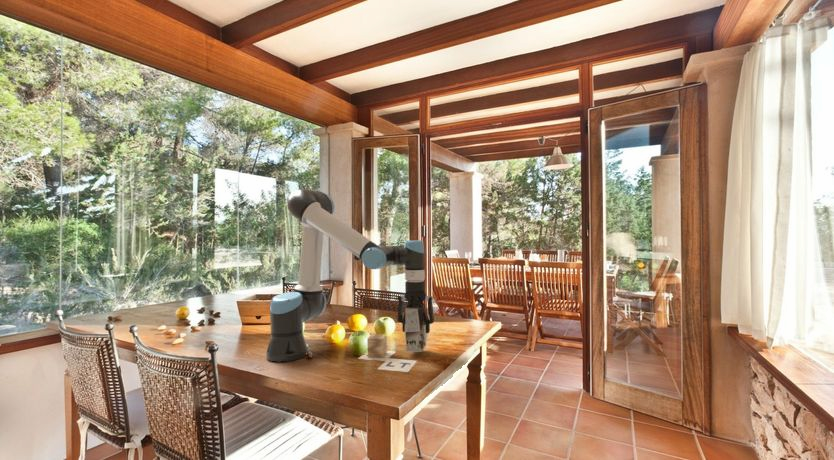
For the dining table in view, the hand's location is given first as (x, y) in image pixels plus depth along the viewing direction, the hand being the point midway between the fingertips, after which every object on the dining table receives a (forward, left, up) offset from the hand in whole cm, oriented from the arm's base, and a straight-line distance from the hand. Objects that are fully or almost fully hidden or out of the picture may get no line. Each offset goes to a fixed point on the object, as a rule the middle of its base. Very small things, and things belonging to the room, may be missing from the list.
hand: (416, 340), depth 141 cm
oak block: (-14, -5, -5) cm, 16 cm away
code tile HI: (-14, -5, -5) cm, 16 cm away
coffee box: (0, 0, -3) cm, 3 cm away
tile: (-3, -13, -5) cm, 14 cm away
